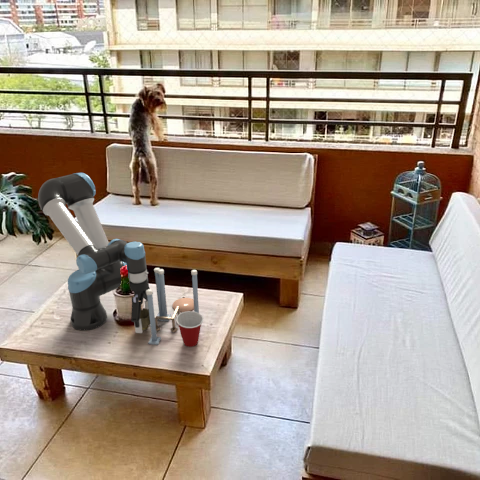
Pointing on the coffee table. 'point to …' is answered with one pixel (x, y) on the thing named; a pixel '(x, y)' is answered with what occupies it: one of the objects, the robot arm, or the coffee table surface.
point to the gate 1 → (149, 292)
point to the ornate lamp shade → (145, 318)
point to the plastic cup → (189, 327)
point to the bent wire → (168, 319)
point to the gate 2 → (195, 291)
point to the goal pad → (184, 304)
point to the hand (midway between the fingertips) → (144, 322)
